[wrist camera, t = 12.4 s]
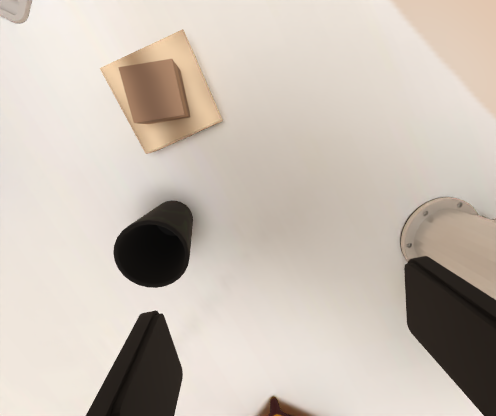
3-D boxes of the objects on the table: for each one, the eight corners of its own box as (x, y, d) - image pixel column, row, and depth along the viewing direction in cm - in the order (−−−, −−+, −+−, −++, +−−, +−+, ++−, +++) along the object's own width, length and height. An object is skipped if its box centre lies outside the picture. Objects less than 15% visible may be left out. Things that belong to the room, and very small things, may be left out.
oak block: (189, 43, 33) (183, 29, 28) (222, 121, 36) (222, 119, 31) (117, 77, 34) (99, 68, 29) (156, 151, 36) (145, 154, 32)
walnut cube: (180, 70, 30) (171, 58, 25) (190, 117, 31) (184, 114, 26) (135, 77, 29) (118, 67, 25) (148, 124, 31) (133, 123, 26)
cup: (150, 188, 38) (117, 214, 26) (204, 199, 39) (194, 228, 27) (143, 238, 39) (110, 282, 28) (195, 246, 41) (182, 293, 29)
